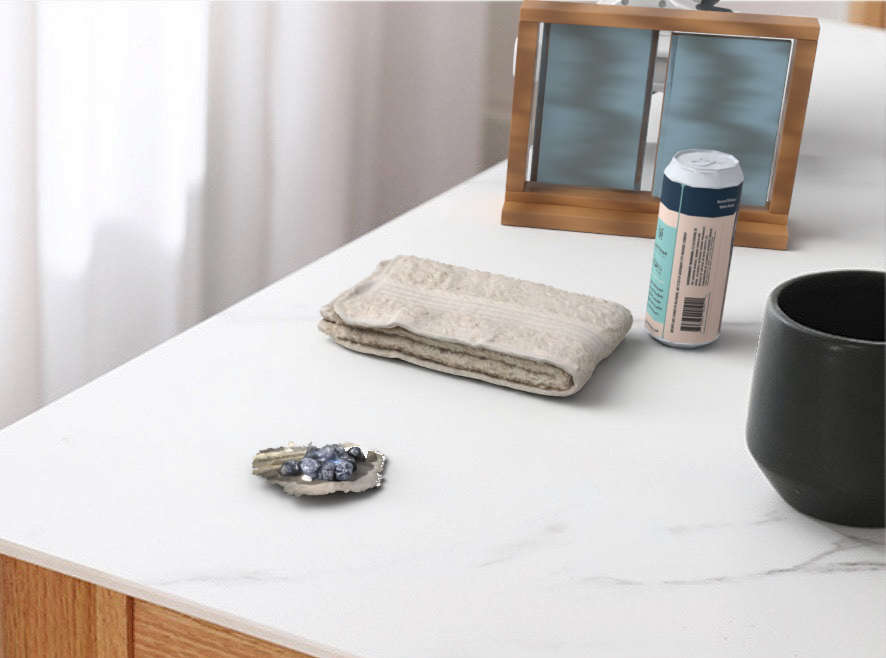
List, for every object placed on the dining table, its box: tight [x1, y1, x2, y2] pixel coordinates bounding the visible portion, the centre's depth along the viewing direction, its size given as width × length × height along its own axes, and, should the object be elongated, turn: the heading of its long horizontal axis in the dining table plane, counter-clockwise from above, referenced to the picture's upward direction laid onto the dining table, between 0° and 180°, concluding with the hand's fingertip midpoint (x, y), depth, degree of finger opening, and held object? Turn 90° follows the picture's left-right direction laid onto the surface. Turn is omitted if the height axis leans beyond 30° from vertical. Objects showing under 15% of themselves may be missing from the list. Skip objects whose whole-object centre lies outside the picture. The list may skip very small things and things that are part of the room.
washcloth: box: [317, 254, 634, 397], centre depth 100 cm, size 12×18×3 cm, turn 62°
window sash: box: [529, 23, 660, 191], centre depth 120 cm, size 8×5×12 cm, turn 77°
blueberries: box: [251, 440, 385, 498], centre depth 85 cm, size 7×8×2 cm
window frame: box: [500, 0, 821, 251], centre depth 117 cm, size 21×7×16 cm, turn 77°
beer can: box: [643, 149, 744, 349], centre depth 99 cm, size 5×5×12 cm
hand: (634, 84), depth 124 cm, fingers open, 8 cm apart
